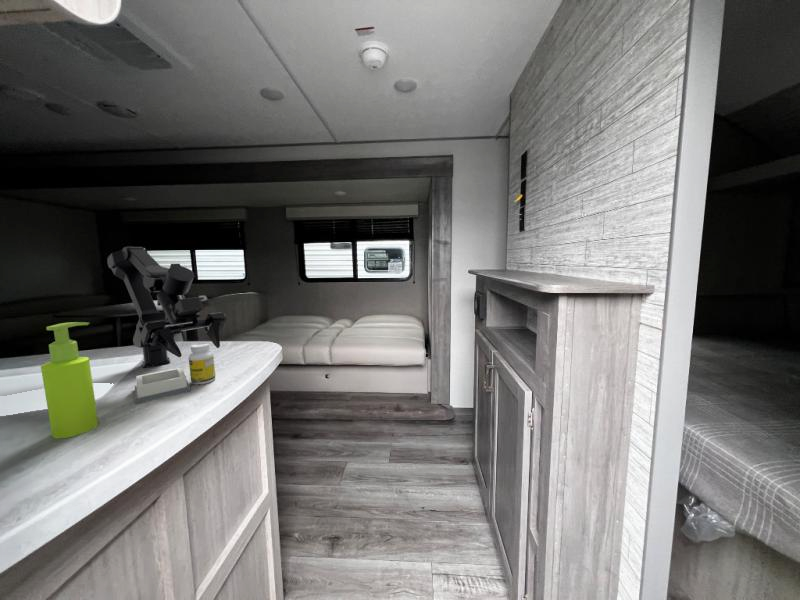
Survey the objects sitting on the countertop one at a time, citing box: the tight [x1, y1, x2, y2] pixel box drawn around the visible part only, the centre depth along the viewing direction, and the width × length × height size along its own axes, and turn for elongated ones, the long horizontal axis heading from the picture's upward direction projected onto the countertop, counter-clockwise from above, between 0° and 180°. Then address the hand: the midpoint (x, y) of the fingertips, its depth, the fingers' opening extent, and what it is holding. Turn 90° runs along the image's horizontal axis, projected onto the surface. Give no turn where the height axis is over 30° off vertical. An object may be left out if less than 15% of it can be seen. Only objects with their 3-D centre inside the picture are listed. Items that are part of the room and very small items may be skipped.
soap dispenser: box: [40, 321, 99, 439], centre depth 56 cm, size 6×7×20 cm
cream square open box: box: [134, 367, 191, 404], centre depth 73 cm, size 10×10×4 cm
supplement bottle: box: [188, 342, 216, 385], centre depth 78 cm, size 5×5×10 cm
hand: (200, 351), depth 78 cm, fingers open, 9 cm apart
